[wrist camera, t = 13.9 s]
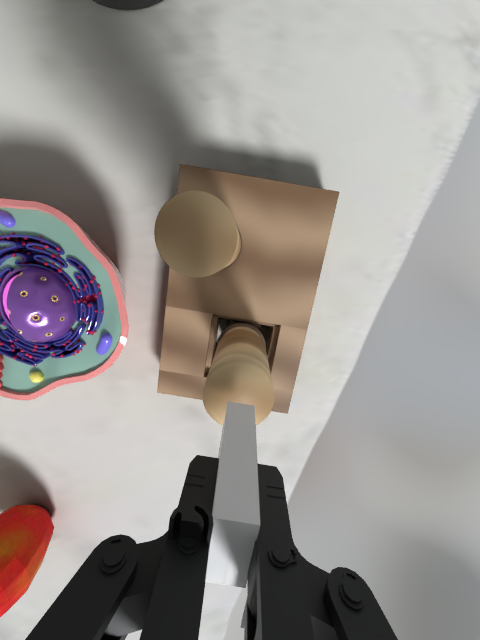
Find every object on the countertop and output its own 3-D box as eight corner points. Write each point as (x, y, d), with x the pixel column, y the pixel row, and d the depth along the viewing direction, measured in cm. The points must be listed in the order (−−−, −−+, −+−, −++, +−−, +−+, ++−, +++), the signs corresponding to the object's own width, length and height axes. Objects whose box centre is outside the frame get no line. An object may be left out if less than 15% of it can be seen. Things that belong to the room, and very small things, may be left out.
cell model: (-35, 213, 28) (-213, 186, 17) (152, 214, 28) (91, 188, 17) (-3, 362, 32) (-131, 417, 21) (162, 365, 32) (117, 423, 21)
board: (189, 177, 27) (131, 97, 13) (326, 200, 27) (405, 146, 14) (167, 375, 32) (110, 464, 19) (282, 394, 32) (308, 495, 19)
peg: (224, 311, 30) (205, 356, 17) (266, 317, 30) (282, 368, 17) (218, 350, 31) (196, 424, 18) (259, 357, 31) (268, 435, 18)
